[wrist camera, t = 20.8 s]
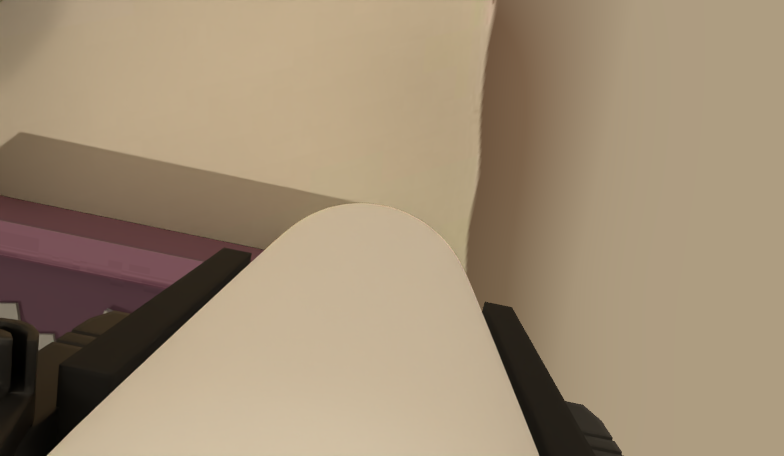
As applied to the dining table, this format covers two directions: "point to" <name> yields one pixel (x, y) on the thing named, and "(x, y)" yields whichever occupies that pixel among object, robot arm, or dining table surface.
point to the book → (87, 264)
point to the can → (324, 357)
